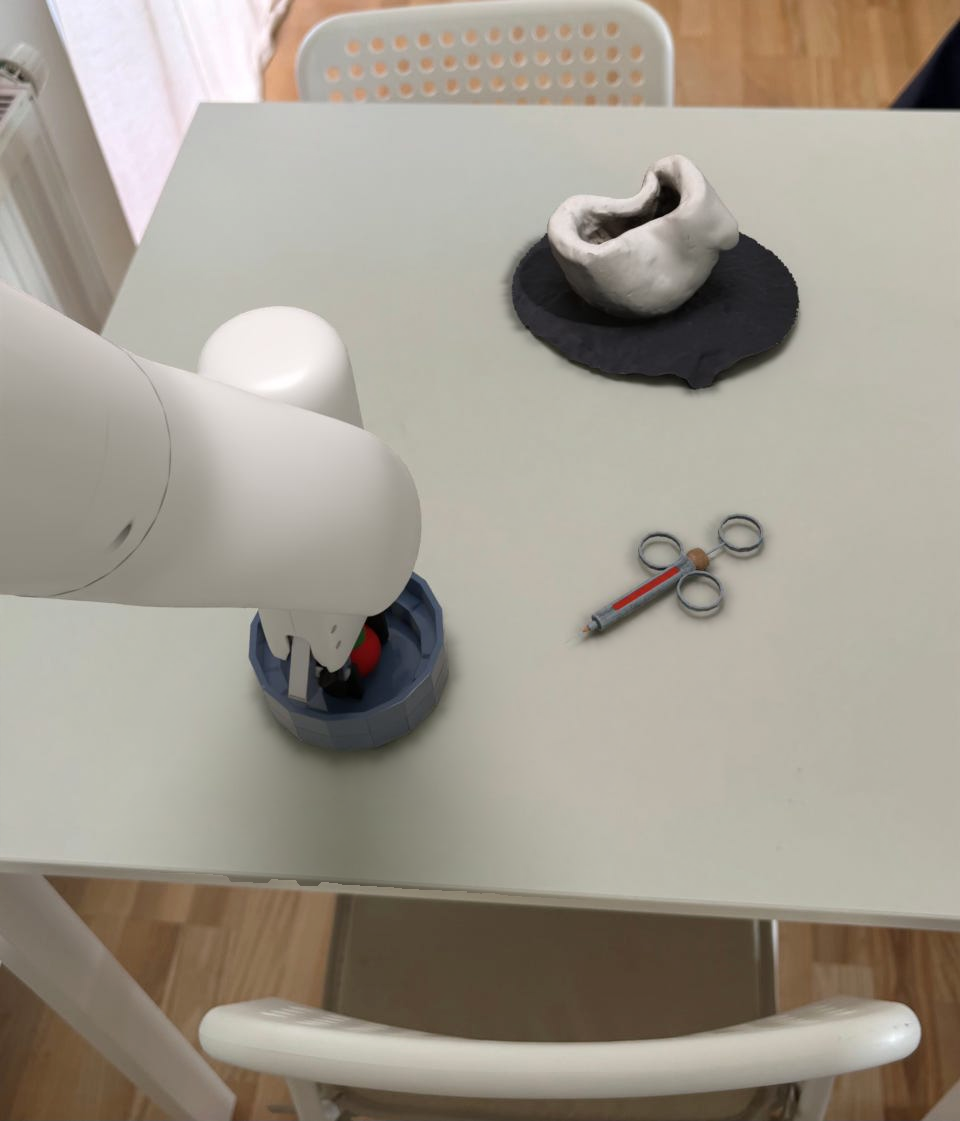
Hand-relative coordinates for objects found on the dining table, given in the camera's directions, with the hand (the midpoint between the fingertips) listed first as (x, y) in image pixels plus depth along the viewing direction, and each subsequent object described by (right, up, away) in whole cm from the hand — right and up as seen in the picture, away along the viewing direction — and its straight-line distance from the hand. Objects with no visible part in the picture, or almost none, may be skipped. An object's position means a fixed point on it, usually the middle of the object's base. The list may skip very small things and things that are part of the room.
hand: (355, 661), depth 77 cm
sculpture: (+24, +31, +21) cm, 44 cm away
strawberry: (0, 0, 0) cm, 0 cm away
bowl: (0, -1, +1) cm, 1 cm away
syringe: (+22, +5, +4) cm, 23 cm away
